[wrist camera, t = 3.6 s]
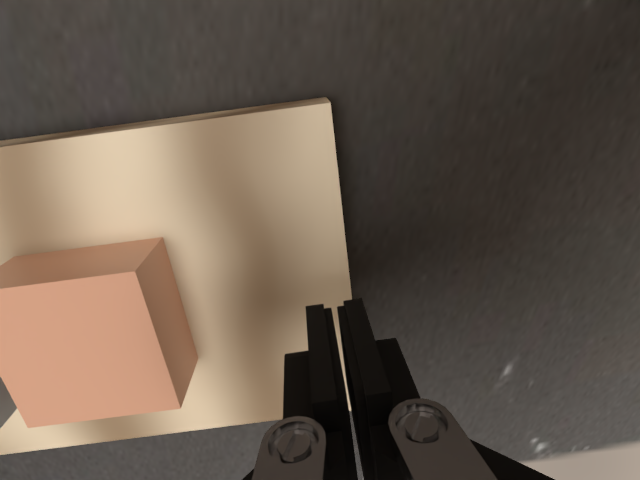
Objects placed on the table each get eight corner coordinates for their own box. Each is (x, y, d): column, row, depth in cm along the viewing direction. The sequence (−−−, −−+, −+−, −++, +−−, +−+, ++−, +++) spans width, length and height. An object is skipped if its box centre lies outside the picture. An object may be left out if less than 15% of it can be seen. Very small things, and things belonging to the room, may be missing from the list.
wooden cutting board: (325, 97, 15) (330, 102, 12) (356, 367, 19) (364, 408, 17) (-202, 167, 15) (-295, 186, 13) (-47, 419, 20) (-93, 466, 17)
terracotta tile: (162, 236, 14) (135, 271, 12) (198, 358, 16) (180, 408, 13) (14, 256, 14) (-44, 294, 12) (68, 375, 16) (27, 428, 13)
